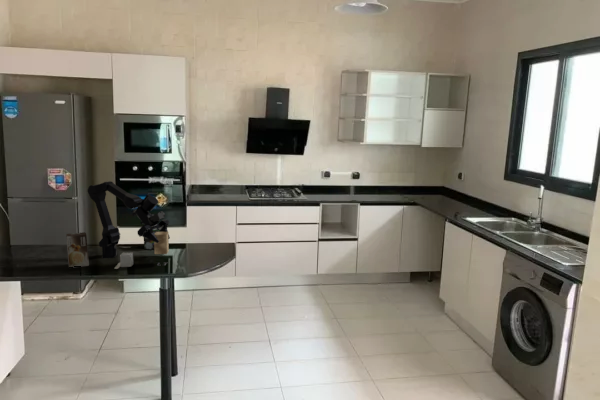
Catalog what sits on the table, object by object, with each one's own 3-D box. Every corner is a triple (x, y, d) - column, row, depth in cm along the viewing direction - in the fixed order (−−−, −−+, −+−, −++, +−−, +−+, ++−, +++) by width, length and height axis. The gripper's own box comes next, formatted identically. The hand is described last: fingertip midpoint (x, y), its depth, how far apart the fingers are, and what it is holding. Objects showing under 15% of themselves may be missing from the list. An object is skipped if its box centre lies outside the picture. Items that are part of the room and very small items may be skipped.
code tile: (147, 268, 235) (147, 267, 235) (152, 261, 247) (152, 260, 247) (172, 267, 236) (172, 267, 236) (175, 261, 248) (175, 260, 248)
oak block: (154, 254, 237) (154, 234, 236) (156, 250, 243) (156, 231, 242) (166, 254, 238) (166, 234, 236) (168, 250, 244) (168, 231, 242)
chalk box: (164, 245, 279) (163, 220, 277) (160, 249, 270) (159, 224, 268) (148, 245, 279) (147, 220, 277) (143, 249, 270) (142, 224, 268)
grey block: (120, 266, 236) (120, 255, 235) (122, 264, 241) (122, 252, 240) (131, 266, 236) (130, 255, 235) (133, 263, 241) (132, 252, 240)
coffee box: (88, 262, 243) (86, 231, 241) (89, 265, 238) (87, 234, 235) (68, 264, 239) (66, 233, 237) (68, 268, 234) (66, 236, 231)
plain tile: (113, 269, 233) (113, 268, 233) (119, 263, 243) (119, 262, 243) (135, 268, 234) (135, 268, 234) (139, 262, 244) (139, 262, 244)
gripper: (141, 209, 230) (160, 234, 228) (166, 204, 247) (184, 227, 245) (129, 224, 234) (147, 248, 232) (154, 217, 251) (172, 240, 249)
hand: (163, 240), depth 239 cm, fingers closed on oak block, 8 cm apart
